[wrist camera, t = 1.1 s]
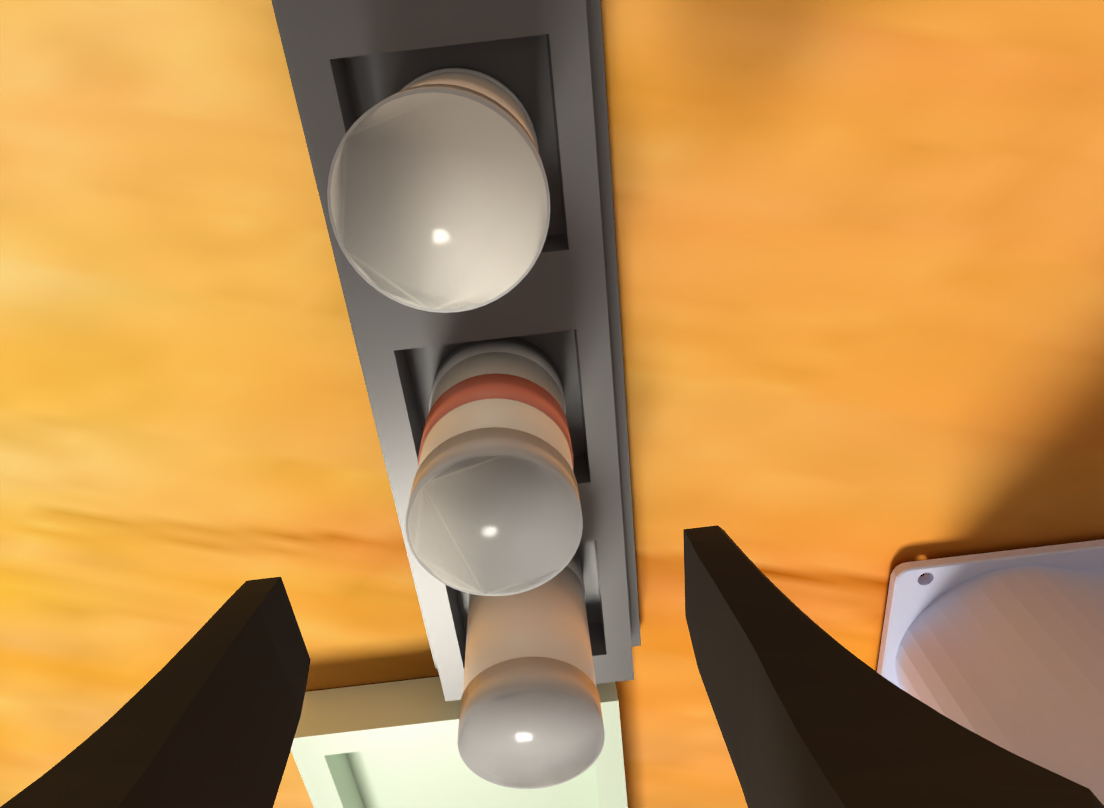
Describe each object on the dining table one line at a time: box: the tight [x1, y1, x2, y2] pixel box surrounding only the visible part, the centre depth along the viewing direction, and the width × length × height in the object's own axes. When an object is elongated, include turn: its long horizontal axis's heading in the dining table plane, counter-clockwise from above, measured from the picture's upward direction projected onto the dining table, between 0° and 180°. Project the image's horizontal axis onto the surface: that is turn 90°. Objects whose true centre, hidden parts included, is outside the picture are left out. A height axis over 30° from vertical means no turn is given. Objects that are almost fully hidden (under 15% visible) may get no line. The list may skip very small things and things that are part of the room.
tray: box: [291, 676, 628, 808], centre depth 28 cm, size 11×11×2 cm
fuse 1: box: [327, 66, 550, 313], centre depth 15 cm, size 4×4×6 cm
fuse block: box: [272, 0, 641, 701], centre depth 20 cm, size 7×20×2 cm, turn 6°
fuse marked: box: [406, 337, 583, 596], centre depth 18 cm, size 4×4×6 cm
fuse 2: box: [457, 553, 605, 789], centre depth 21 cm, size 4×4×6 cm
